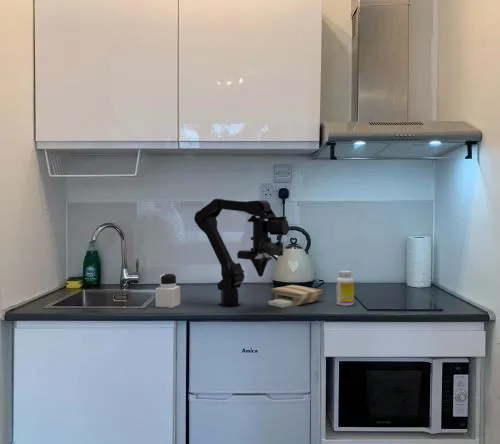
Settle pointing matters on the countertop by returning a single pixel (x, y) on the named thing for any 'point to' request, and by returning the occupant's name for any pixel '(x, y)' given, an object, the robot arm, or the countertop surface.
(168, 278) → the medicine bottle
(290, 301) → the sage plate
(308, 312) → the countertop surface
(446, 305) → the countertop surface
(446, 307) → the countertop surface
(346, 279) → the supplement bottle
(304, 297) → the overhang
